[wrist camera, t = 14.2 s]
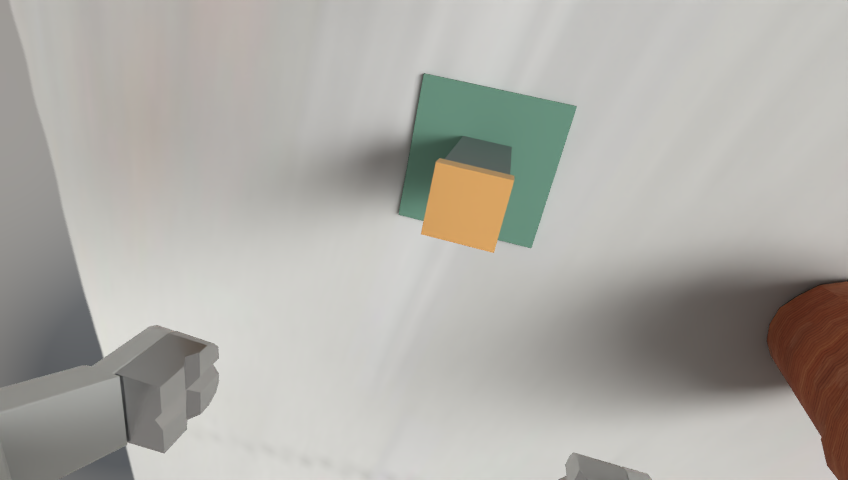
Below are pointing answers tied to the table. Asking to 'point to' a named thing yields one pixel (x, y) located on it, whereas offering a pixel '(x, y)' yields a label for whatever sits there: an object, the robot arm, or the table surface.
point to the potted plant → (817, 363)
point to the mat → (494, 122)
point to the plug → (470, 194)
